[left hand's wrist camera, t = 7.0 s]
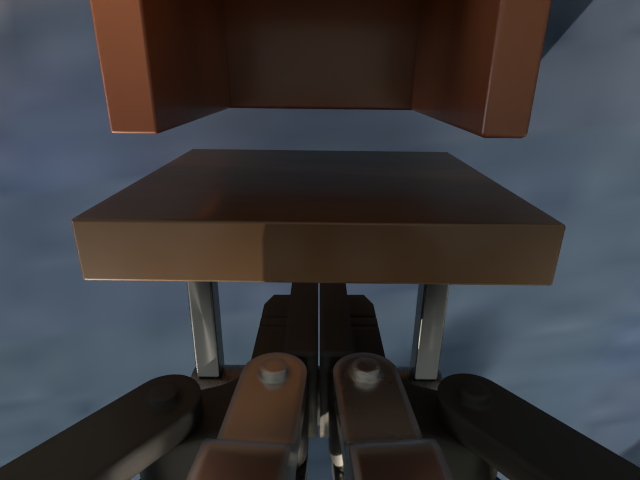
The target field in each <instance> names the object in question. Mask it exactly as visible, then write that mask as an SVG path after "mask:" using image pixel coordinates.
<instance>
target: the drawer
mask: <svg viewBox="0 0 640 480" xmlns="http://www.w3.org/2000/svg"><path fill="white" fill-rule="evenodd" d="M90 3H91V9H92V15H93V21H94V28H95V34H96V40H97V46H98V53H99V59H100V65H101V71H102V78H103V84H104V90H105V96H106V103H107V109H108V115H109V121H110V128H111V132H112V133H115V134H157V133H160V132H163V131H166V130H169V129H171V128H174V127H177V126H180V125H183V124H185V123H188V122H191V121H194V120H197V119H199V118H202V117H205V116H208V115H211V114H213V113H216V112H219V111H222V110H225V109H227V108H283V109H365V110H414V111H417V112H419V113H422V114H424V115H427V116H430V117H432V118H435V119H437V120H440V121H442V122H445V123H448V124H450V125H453V126H455V127H458V128H460V129H463V130H466V131H468V132H471V133H473V134H476V135H479V136H481V137H484V138H523V137H525V136H526V135H527V132H528V127H529V121H530V116H531V110H532V105H533V99H534V93H535V88H536V82H537V77H538V71H539V66H540V60H541V55H542V49H543V44H544V38H545V33H546V27H547V22H548V16H549V11H550V5H551V0H90ZM71 222H72V227H73V232H74V236H75V241H76V246H77V251H78V256H79V260H80V265H81V270H82V275H83V279H84V280H127V281H187V289H188V298H189V307H190V316H191V325H192V334H193V343H194V352H195V361H196V367H195V369H194V371H193V373H192V376H191V378H193V379H194V380H195V381H197V382H198V384H199V385H200V388H201V390H202V389H207V388H211V387H215V386H219V385H223V384H226V383H228V382H231V381H233V380H235V379H236V378H238V377H239V376H240V375H241V372H242V370H243V368H244V366H245V365H224V355H223V343H222V331H221V319H220V307H219V295H218V283H217V282H295V283H378V284H419V288H418V297H417V307H416V316H415V326H414V335H413V345H412V354H411V364H410V366H411V367H396V368H397V370H398V372H399V375H400V378H401V379H402V380H404V381H406V382H408V383H411V384H413V385H417V386H421V387H425V388H429V389H434V390H437V389H438V386H439V383H440V382H441V381H442V380H443V378H442V375H441V373H440V371H439V370H438V367H439V360H440V352H441V345H442V337H443V330H444V322H445V315H446V307H447V300H448V293H449V285H450V284H462V285H545V286H550V285H552V283H553V279H554V274H555V270H556V266H557V261H558V257H559V253H560V248H561V244H562V240H563V235H564V231H565V225H564V224H562V223H561V222H559V221H558V220H556V219H554V218H553V217H551V216H550V215H548V214H546V213H545V212H543V211H541V210H540V209H538V208H537V207H535V206H533V205H532V204H530V203H528V202H527V201H525V200H524V199H522V198H520V197H519V196H517V195H516V194H514V193H512V192H511V191H509V190H507V189H506V188H504V187H503V186H501V185H499V184H498V183H496V182H495V181H493V180H491V179H490V178H488V177H486V176H485V175H483V174H482V173H480V172H478V171H477V170H475V169H473V168H472V167H470V166H469V165H467V164H465V163H464V162H462V161H461V160H459V159H457V158H456V157H454V156H452V155H451V154H449V153H447V152H382V151H300V150H218V149H192V150H191V151H189V152H187V153H185V154H184V155H182V156H180V157H178V158H177V159H175V160H173V161H172V162H170V163H168V164H166V165H165V166H163V167H161V168H159V169H158V170H156V171H154V172H152V173H151V174H149V175H147V176H146V177H144V178H142V179H140V180H139V181H137V182H135V183H133V184H132V185H130V186H128V187H127V188H125V189H123V190H121V191H120V192H118V193H116V194H114V195H113V196H111V197H109V198H107V199H106V200H104V201H102V202H101V203H99V204H97V205H95V206H94V207H92V208H90V209H88V210H87V211H85V212H83V213H82V214H80V215H78V216H76V217H75V218H73V219H72V221H71ZM317 426H320V366H318V414H317Z"/></svg>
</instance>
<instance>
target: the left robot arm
mask: <svg viewBox="0 0 640 480" xmlns="http://www.w3.org/2000/svg"><path fill="white" fill-rule="evenodd" d="M317 414H318V283H295V282H292V288H291V295H273V296H272V297H271V298H270V299H269V300H268V301H267V302H266V303H265V304H264V308H263V313H262V318H261V321H260V327H259V330H258V334H257V338H256V342H255V347H254V351H253V355H252V359H251V361H249V362H248V363H247V364H246V365H245V366H244V368H243V370H242V372H241V375H240V376H239V377H238V378H236V379H235V380H233V381H231V382H228V383H226V384H223V385H219V386H215V387H211V388H207V389H202V390H201V388H200V385H199V384H198V382H197V381H195V380H194V379H193V378H191V377H188V376H185V375H166V376H161V377H158V378H155V379H152V380H150V381H148V382H146V383H144V384H142V385H141V386H139V387H137V388H136V389H134V390H132V391H130V392H129V393H127V394H125V395H124V396H122V397H120V398H119V399H117V400H115V401H113V402H112V403H110V404H108V405H107V406H105V407H103V408H101V409H100V410H98V411H96V412H95V413H93V414H91V415H90V416H88V417H86V418H84V419H83V420H81V421H79V422H78V423H76V424H74V425H72V426H71V427H69V428H67V429H66V430H64V431H62V432H61V433H59V434H57V435H55V436H54V437H52V438H50V439H49V440H47V441H45V442H43V443H42V444H40V445H38V446H37V447H35V448H33V449H32V450H30V451H28V452H26V453H25V454H23V455H21V456H20V457H18V458H16V459H14V460H13V461H11V462H9V463H8V464H6V465H4V466H3V467H1V468H0V480H130V479H132V478H133V477H134V476H136V475H137V474H138V473H140V478H141V479H140V480H307V476H308V437H317ZM320 437H329V454H330V457H331V460H332V476H333V480H500V479H499V478H498V477H496V476H497V472H498V471H499V472H500V473H502V474H503V475H504V476H506V477H507V478H508V479H510V480H640V468H639V467H637V466H636V465H634V464H632V463H631V462H629V461H627V460H626V459H624V458H622V457H620V456H619V455H617V454H615V453H614V452H612V451H610V450H608V449H607V448H605V447H603V446H602V445H600V444H598V443H597V442H595V441H593V440H591V439H590V438H588V437H586V436H585V435H583V434H581V433H579V432H578V431H576V430H574V429H573V428H571V427H569V426H568V425H566V424H564V423H562V422H561V421H559V420H557V419H556V418H554V417H552V416H550V415H549V414H547V413H545V412H544V411H542V410H540V409H539V408H537V407H535V406H533V405H532V404H530V403H528V402H527V401H525V400H523V399H521V398H520V397H518V396H516V395H515V394H513V393H511V392H510V391H508V390H506V389H504V388H503V387H501V386H499V385H498V384H496V383H494V382H492V381H490V380H488V379H486V378H484V377H481V376H477V375H473V374H454V375H451V376H448V377H446V378H444V379H443V380H442V381H441V382H440V383H439V386H438V389H437V390H434V389H429V388H425V387H421V386H417V385H413V384H411V383H408V382H406V381H404V380H402V379H401V378H400V375H399V372H398V370H397V368H396V366H395V365H394V364H393V363H392V362H391V361H389V360H388V359H386V358H385V354H384V350H383V345H382V341H381V337H380V332H379V328H378V323H377V319H376V314H375V310H374V306H373V304H372V303H371V302H370V301H369V300H368V299H367V298H366V297H365V296H364V295H347V290H346V283H320Z"/></svg>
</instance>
